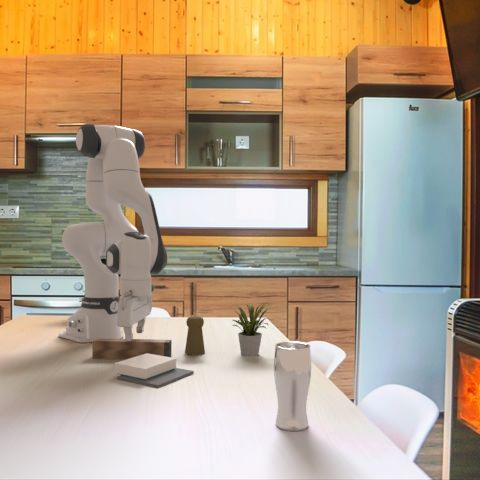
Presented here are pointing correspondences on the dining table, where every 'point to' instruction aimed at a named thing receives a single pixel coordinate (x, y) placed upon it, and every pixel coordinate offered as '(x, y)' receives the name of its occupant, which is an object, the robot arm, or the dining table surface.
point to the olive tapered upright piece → (195, 336)
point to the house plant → (250, 330)
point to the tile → (145, 366)
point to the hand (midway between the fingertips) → (134, 336)
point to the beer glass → (292, 384)
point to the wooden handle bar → (129, 348)
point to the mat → (160, 378)
